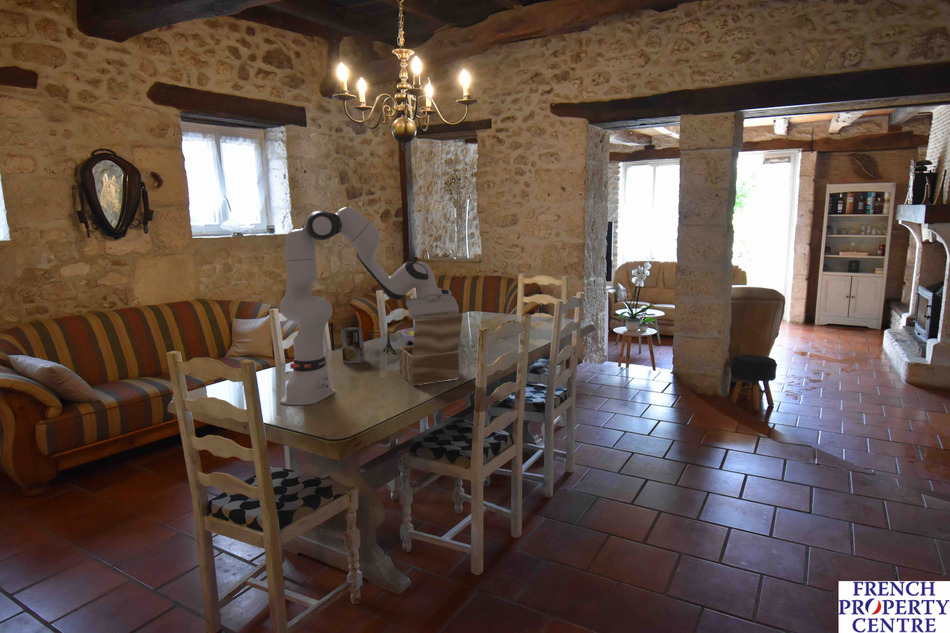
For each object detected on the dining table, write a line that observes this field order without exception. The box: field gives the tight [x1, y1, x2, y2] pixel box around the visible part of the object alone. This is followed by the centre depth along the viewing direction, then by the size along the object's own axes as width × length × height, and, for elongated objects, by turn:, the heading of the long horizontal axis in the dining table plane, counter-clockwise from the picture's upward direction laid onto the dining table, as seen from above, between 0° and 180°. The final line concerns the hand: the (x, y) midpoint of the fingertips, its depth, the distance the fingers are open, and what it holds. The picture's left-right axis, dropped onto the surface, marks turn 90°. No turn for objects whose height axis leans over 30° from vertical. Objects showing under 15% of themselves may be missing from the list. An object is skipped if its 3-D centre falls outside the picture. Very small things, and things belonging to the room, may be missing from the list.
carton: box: [398, 345, 460, 386], centre depth 244 cm, size 20×20×12 cm
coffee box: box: [340, 326, 365, 364], centre depth 273 cm, size 9×6×16 cm
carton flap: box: [412, 312, 464, 356], centre depth 229 cm, size 18×19×1 cm
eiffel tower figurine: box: [371, 328, 396, 355], centre depth 291 cm, size 15×10×13 cm
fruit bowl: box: [400, 327, 414, 343], centre depth 313 cm, size 28×27×11 cm
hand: (438, 324), depth 227 cm, fingers open, 8 cm apart
